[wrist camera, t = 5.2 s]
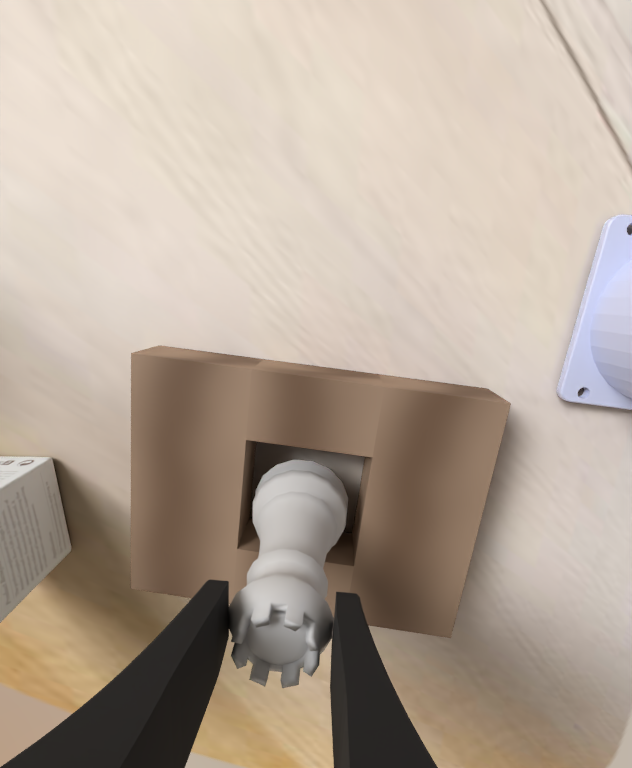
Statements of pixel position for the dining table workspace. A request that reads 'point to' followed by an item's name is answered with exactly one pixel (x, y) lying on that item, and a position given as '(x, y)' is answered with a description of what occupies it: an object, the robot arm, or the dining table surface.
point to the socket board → (320, 432)
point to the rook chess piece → (289, 572)
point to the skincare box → (28, 527)
